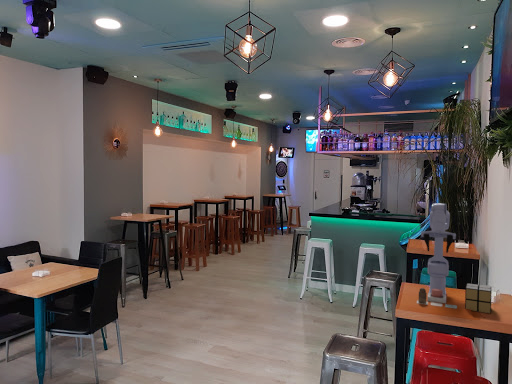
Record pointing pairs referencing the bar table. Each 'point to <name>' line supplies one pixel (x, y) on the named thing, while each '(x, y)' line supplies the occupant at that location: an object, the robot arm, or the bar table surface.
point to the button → (437, 293)
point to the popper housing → (436, 298)
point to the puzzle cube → (478, 298)
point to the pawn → (422, 296)
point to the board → (440, 304)
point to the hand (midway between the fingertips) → (437, 250)
